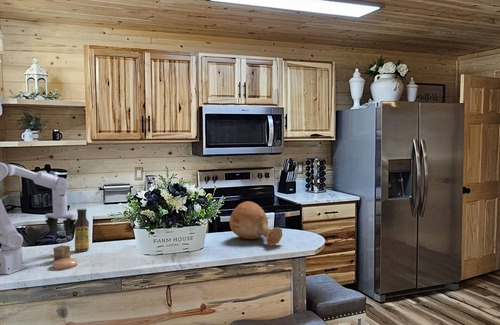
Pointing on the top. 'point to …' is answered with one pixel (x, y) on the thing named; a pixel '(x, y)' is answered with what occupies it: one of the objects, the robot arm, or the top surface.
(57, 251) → the walnut block
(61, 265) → the tan flattened disc
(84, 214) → the sauce bottle
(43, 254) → the top surface
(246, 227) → the jug
